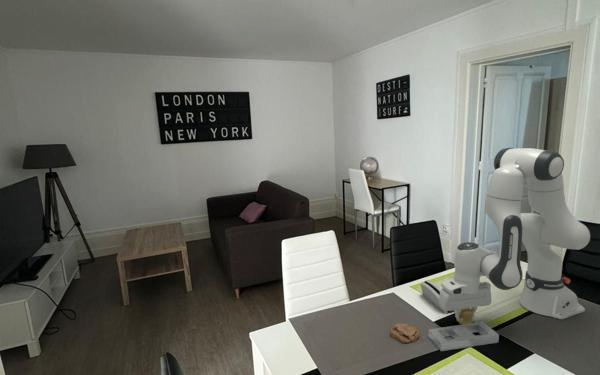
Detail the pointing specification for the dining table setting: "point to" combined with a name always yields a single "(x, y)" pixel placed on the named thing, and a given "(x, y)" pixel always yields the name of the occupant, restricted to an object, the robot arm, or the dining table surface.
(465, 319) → the wood grain block
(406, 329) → the cookie
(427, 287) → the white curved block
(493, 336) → the grey shape sorter tray
